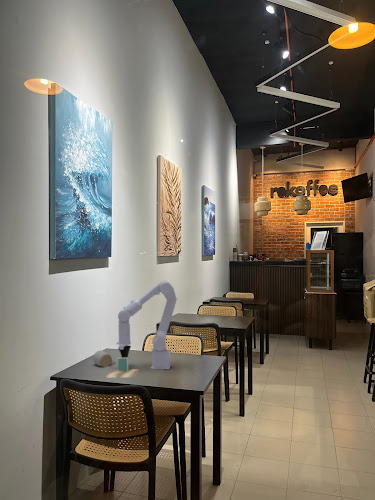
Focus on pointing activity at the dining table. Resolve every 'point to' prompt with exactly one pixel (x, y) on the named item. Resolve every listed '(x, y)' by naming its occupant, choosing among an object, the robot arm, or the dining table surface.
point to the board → (123, 373)
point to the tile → (122, 363)
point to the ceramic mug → (102, 359)
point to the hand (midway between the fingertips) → (124, 360)
